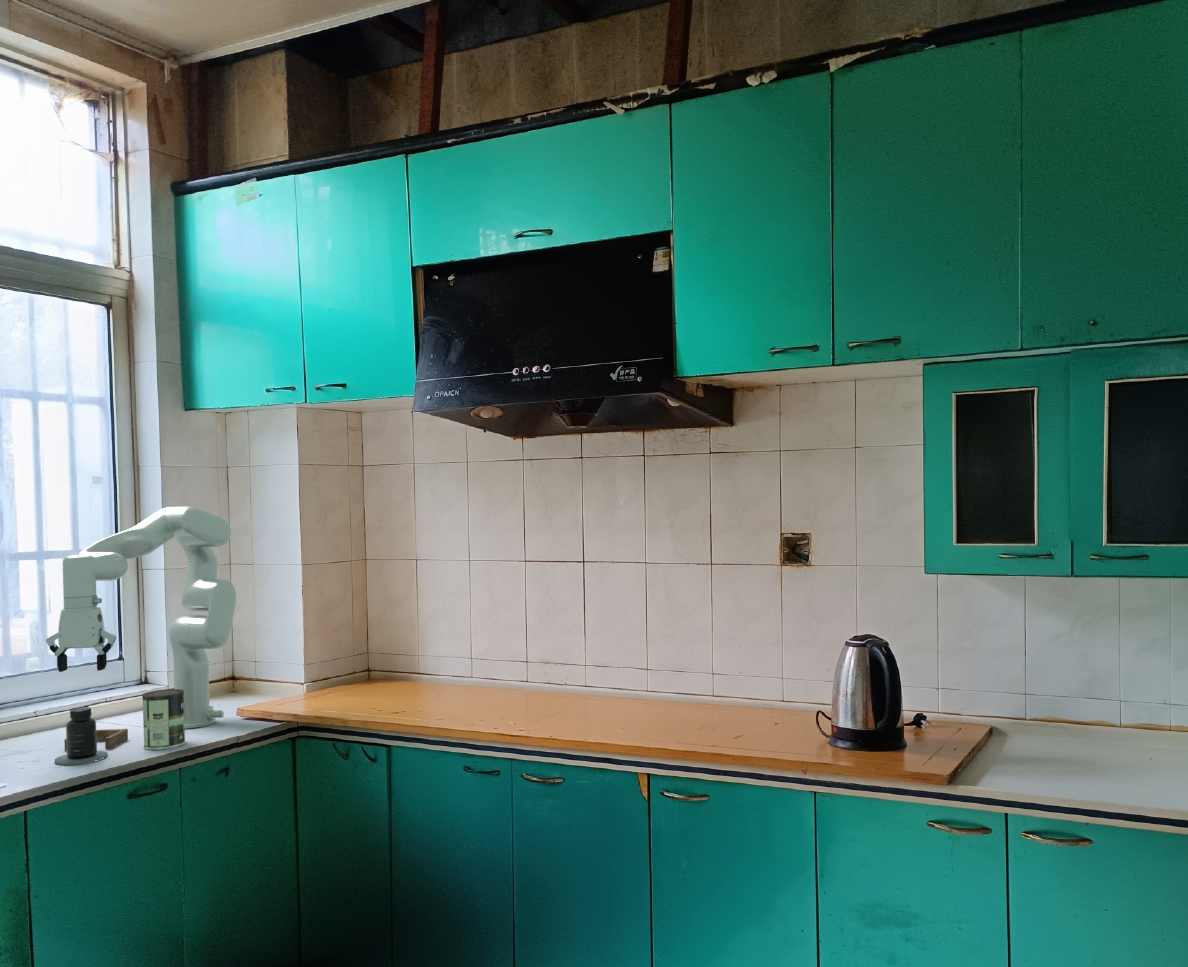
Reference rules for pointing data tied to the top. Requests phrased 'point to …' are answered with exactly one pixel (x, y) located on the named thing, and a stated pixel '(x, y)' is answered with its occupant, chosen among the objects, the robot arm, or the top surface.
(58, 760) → the rubber mat
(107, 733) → the bottle holder
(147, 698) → the coffee can
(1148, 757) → the top surface
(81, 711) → the supplement bottle
